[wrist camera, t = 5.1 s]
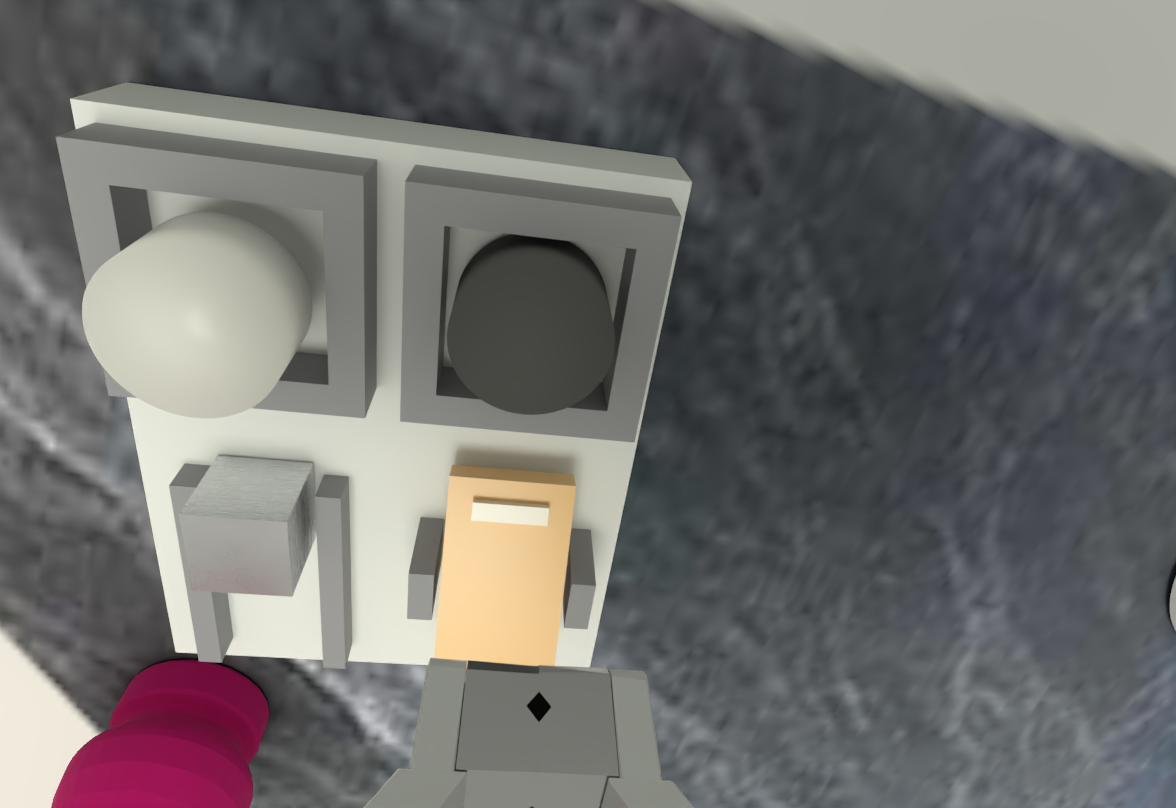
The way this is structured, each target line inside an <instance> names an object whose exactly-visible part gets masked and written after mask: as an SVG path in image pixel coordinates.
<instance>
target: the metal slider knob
mask: <svg viewBox="0 0 1176 808" xmlns="http://www.w3.org/2000/svg"><path fill="white" fill-rule="evenodd" d="M179 519H180V525H181V531H182V537H183V543H184V549H185V555H186V561H187V567H188V573H189V579H190V585H191V591H205V592H221V593H238V594H254V595H271V596H288V597H293V594H294V591H295V589H296V586H297V584H298V581H299V578H300V576H301V573H302V571H303V568H304V566H305V563H306V560H307V558H308V555H309V553H310V550H311V548H312V545H313V542H314V540H315V537H316V535H317V531H316V511H315V485H314V465H313V463H305V462H293V461H280V460H268V459H256V458H244V457H231V456H219V455H217V457H216V458H215V460H214V461H213V463H212V464H211V466H210V467H209V469H208V470H207V472H206V473H205V475H204V477H203V478H202V480H201V481H200V483H199V484H198V486H197V487H196V489H195V490H194V492H193V493H192V495H191V496H190V498H189V499H188V501H187V503H186V504H185V506H184V507H183V509H182V510H181V512H180V513H179Z"/></svg>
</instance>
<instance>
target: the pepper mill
mask: <svg viewBox="0 0 1176 808" xmlns="http://www.w3.org/2000/svg"><path fill="white" fill-rule="evenodd" d="M268 718H269V708H268V703H267V701H266V699H265V697H264V696H263V694H262V692H261V690H260V689H259V688H258V687H257V686H256V685H255V684H254V683H253V682H252V681H251V680H249V679H248V678H247V677H245V676H244V675H242V674H240V673H238V672H237V671H235V670H233V669H231V668H228V667H224V666H221V665H218V664H215V663H211V662H199V661H198V660H173V661H167V662H164V663H160V664H156V665H153V666H151V667H149V668H147V669H145V670H144V671H142V672H141V673H139V674H138V675H136V676H135V677H134V678H133V680H132V681H131V682H130V683H129V685H128V687H127V689H126V691H125V692H124V694H123V696H122V698H121V699H120V701H119V703H118V705H117V706H116V708H115V710H114V712H113V713H112V716H111V719H110V729H108V730H106V731H104V732H103V733H101V734H99V735H97V736H95V737H94V738H93V739H91V740H90V741H89V742H87V743H86V744H85V745H84V746H83V747H82V748H81V749H80V750H79V751H78V752H77V753H76V754H75V756H74V757H73V758H72V760H71V761H70V763H69V765H68V766H67V769H66V771H65V773H64V775H63V778H62V780H61V782H60V784H59V786H58V789H57V791H56V794H55V796H54V799H53V803H52V807H51V808H250V804H251V801H252V797H253V781H252V775H251V772H250V769H249V766H248V763H249V762H250V761H251V760H252V759H253V757H254V756H255V754H256V752H257V751H258V748H259V745H260V742H261V739H262V737H263V734H264V731H265V728H266V725H267V723H268Z"/></svg>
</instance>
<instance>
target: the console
mask: <svg viewBox="0 0 1176 808" xmlns="http://www.w3.org/2000/svg"><path fill="white" fill-rule="evenodd" d="M70 101H71V107H72V112H73V117H74V122H75V128H76V129H75V130H72V131H70V132H67V133H64V134H61V135H58V136H56V141H57V146H58V151H59V156H60V160H61V165H62V170H63V175H64V180H65V185H66V190H67V195H68V199H69V204H70V209H71V214H72V219H73V224H74V229H75V234H76V239H77V243H78V248H79V253H80V258H81V263H82V268H83V273H84V278H85V282H86V287H87V285H88V283H89V281H90V280H91V278H92V276H93V275H94V273H95V272H96V271H97V270H98V269H99V268H100V267H101V266H102V265H103V264H104V263H105V262H107V261H108V260H109V259H111V258H112V257H113V256H115V255H116V254H118V253H119V252H121V251H122V250H124V249H125V248H127V247H128V246H129V245H131V244H132V243H134V242H135V241H137V240H138V239H140V238H141V237H143V236H144V235H145V234H147V233H148V232H150V231H151V230H153V229H154V228H156V227H157V226H159V225H160V224H162V223H163V222H165V221H167V220H169V219H171V218H174V217H177V216H179V215H183V214H188V213H196V212H213V213H220V214H226V215H230V216H234V217H237V218H240V219H243V220H245V221H247V222H250V223H252V224H254V225H256V226H257V227H259V228H261V229H263V230H264V231H266V232H267V233H269V234H270V235H271V236H273V237H274V238H275V239H276V240H278V241H279V242H280V243H281V244H282V245H283V246H284V247H285V248H286V249H287V250H288V251H289V252H290V254H291V255H292V256H293V257H294V259H295V260H296V262H297V263H298V264H299V266H300V268H301V270H302V271H303V273H304V275H305V278H306V280H307V283H308V285H309V289H310V293H311V299H312V318H311V323H310V327H309V330H308V332H307V335H306V336H305V338H304V340H303V342H302V343H301V345H300V347H299V348H298V350H297V351H296V353H295V355H294V356H293V358H292V360H291V361H290V363H289V364H288V366H287V368H286V369H285V371H284V372H283V374H282V376H281V377H280V379H279V380H278V382H277V384H276V385H275V387H274V388H273V389H272V391H271V392H270V393H269V394H268V395H267V396H266V397H265V398H264V399H263V400H262V401H261V402H259V403H258V404H257V405H255V406H254V407H252V408H250V409H248V410H246V411H244V412H241V413H238V414H235V415H232V416H227V417H222V418H210V419H207V418H192V417H185V416H181V415H176V414H172V413H169V412H166V411H164V410H161V409H158V408H156V407H154V406H152V405H149V404H147V403H146V402H144V401H142V400H140V399H139V398H137V397H135V396H134V395H132V394H131V393H130V392H128V391H127V390H125V389H124V388H123V387H122V386H121V385H120V384H118V383H117V382H116V381H115V380H114V379H113V378H112V377H111V376H110V375H109V374H108V373H107V372H106V370H105V369H104V368H103V370H104V375H105V380H106V385H107V390H108V395H109V396H120V397H127V400H128V405H129V410H130V416H131V421H132V426H133V431H134V437H135V442H136V447H137V452H138V458H139V463H140V468H141V473H142V479H143V484H144V489H145V494H146V500H147V505H148V510H149V515H150V520H151V526H152V531H153V536H154V541H155V547H156V552H157V557H158V562H159V568H160V573H161V578H162V583H163V589H164V594H165V599H166V604H167V610H168V615H169V620H170V625H171V630H172V636H173V641H174V646H175V651H176V652H179V653H197V654H198V660H199V662H218V663H222V661H223V659H224V657H225V655H239V656H258V657H278V658H298V659H318V660H323V668H340V669H345V668H346V665H347V661H357V662H377V663H397V664H417V665H428V663H429V660H430V658H434V654H435V642H436V630H437V618H438V606H439V594H440V582H441V570H442V558H443V546H444V534H445V522H446V510H447V498H448V486H449V475H450V472H451V468H452V465H464V466H476V467H488V468H500V469H512V470H524V471H536V472H548V473H560V474H572V475H574V479H575V483H576V494H575V502H574V510H573V518H572V527H571V535H570V543H569V552H568V560H567V568H566V576H565V585H564V593H563V601H562V609H561V618H560V626H559V634H558V643H557V651H556V659H555V666H571V667H590V664H591V659H592V654H593V650H594V645H595V640H596V635H597V631H598V626H599V621H600V616H601V612H602V607H603V602H604V597H605V593H606V588H607V583H608V579H609V574H610V569H611V564H612V560H613V555H614V550H615V545H616V541H617V536H618V531H619V526H620V522H621V517H622V512H623V508H624V503H625V498H626V493H627V489H628V484H629V479H630V474H631V470H632V465H633V460H634V455H635V451H636V446H637V441H638V437H639V432H640V427H641V422H642V418H643V413H644V408H645V403H646V399H647V394H648V389H649V384H650V380H651V375H652V370H653V366H654V361H655V356H656V351H657V347H658V342H659V337H660V332H661V328H662V323H663V318H664V313H665V309H666V304H667V299H668V294H669V290H670V285H671V280H672V276H673V271H674V266H675V261H676V257H677V252H678V247H679V242H680V238H681V233H682V228H683V223H684V219H685V214H686V209H687V205H688V200H689V195H690V190H691V186H692V181H691V180H690V178H689V177H688V176H687V174H686V173H685V171H684V170H683V169H682V167H681V166H680V164H679V163H678V161H677V160H676V159H675V158H672V157H665V156H657V155H650V154H643V153H636V152H628V151H621V150H614V149H607V148H599V147H592V146H585V145H578V144H570V143H563V142H556V141H549V140H541V139H534V138H527V137H520V136H512V135H505V134H498V133H491V132H483V131H476V130H469V129H462V128H454V127H447V126H440V125H433V124H425V123H418V122H411V121H404V120H396V119H389V118H382V117H375V116H367V115H360V114H353V113H346V112H338V111H331V110H324V109H317V108H309V107H302V106H295V105H288V104H280V103H273V102H266V101H259V100H251V99H244V98H237V97H230V96H222V95H215V94H208V93H201V92H193V91H186V90H179V89H172V88H164V87H157V86H150V85H143V84H135V83H128V82H127V83H123V84H120V85H116V86H113V87H109V88H106V89H102V90H99V91H95V92H92V93H88V94H85V95H81V96H78V97H74V98H71V99H70ZM510 234H515V235H523V236H531V237H539V238H548V239H556V240H564V241H569V242H571V243H572V244H574V245H576V246H577V247H579V248H580V249H581V250H582V251H583V252H585V253H586V254H587V255H588V256H589V258H590V259H591V260H592V261H593V262H594V264H595V265H596V267H597V268H598V270H599V272H600V274H601V276H602V278H603V281H604V284H605V287H606V292H607V296H608V301H609V306H610V311H611V316H612V320H613V325H614V331H615V348H614V354H613V358H612V362H611V364H610V367H609V369H608V371H607V373H606V375H605V376H604V378H603V380H602V381H601V382H600V383H599V385H598V386H597V387H596V388H595V389H594V390H593V391H592V392H591V393H590V394H589V395H588V396H586V397H585V398H584V399H582V400H581V401H579V402H578V403H576V404H574V405H572V406H570V407H568V408H565V409H563V410H560V411H556V412H552V413H547V414H539V415H523V414H517V413H511V412H507V411H504V410H501V409H498V408H496V407H493V406H491V405H490V404H488V403H486V402H484V401H483V400H481V399H480V398H478V397H477V396H475V395H474V394H473V393H472V392H471V391H470V390H469V389H468V388H467V387H466V386H465V385H464V384H463V382H462V381H461V380H460V378H459V377H458V375H457V374H456V372H455V370H454V368H453V366H452V363H451V360H450V357H449V353H448V347H447V329H448V323H449V319H450V315H451V311H452V307H453V303H454V299H455V295H456V291H457V287H458V283H459V280H460V277H461V275H462V273H463V271H464V269H465V267H466V266H467V264H468V262H469V261H470V260H471V259H472V258H473V256H474V255H475V254H476V253H477V252H479V251H480V250H481V249H482V248H483V247H485V246H486V245H488V244H489V243H491V242H493V241H495V240H497V239H499V238H501V237H504V236H507V235H510ZM217 455H219V456H231V457H244V458H256V459H268V460H280V461H293V462H305V463H313V465H314V485H315V511H316V531H317V535H316V537H315V540H314V542H313V545H312V548H311V550H310V553H309V555H308V558H307V560H306V563H305V566H304V568H303V571H302V573H301V576H300V578H299V581H298V584H297V586H296V589H295V591H294V594H293V597H288V596H271V595H254V594H238V593H221V592H205V591H191V585H190V579H189V573H188V567H187V561H186V555H185V549H184V543H183V537H182V531H181V525H180V519H179V513H180V512H181V510H182V509H183V507H184V506H185V504H186V503H187V501H188V499H189V498H190V496H191V495H192V493H193V492H194V490H195V489H196V487H197V486H198V484H199V483H200V481H201V480H202V478H203V477H204V475H205V473H206V472H207V470H208V469H209V467H210V466H211V464H212V463H213V461H214V460H215V458H216V457H217Z"/></svg>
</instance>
